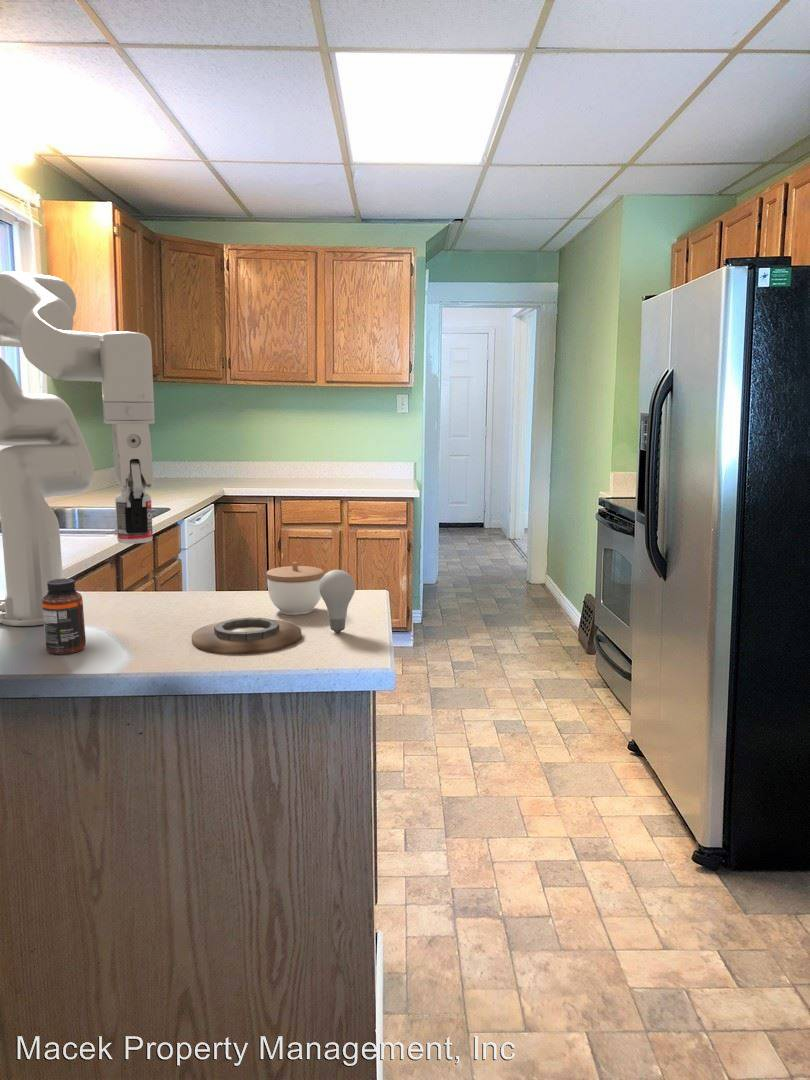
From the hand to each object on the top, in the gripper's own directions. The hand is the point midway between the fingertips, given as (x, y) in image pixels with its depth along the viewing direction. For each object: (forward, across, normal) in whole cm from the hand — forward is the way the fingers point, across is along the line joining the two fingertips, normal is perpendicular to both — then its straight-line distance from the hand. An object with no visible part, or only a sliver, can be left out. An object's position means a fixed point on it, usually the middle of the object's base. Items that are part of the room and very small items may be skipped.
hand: (134, 528), depth 131 cm
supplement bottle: (+20, +3, +11) cm, 23 cm away
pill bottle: (+2, 0, 0) cm, 2 cm away
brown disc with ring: (+19, -2, -17) cm, 26 cm away
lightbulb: (+19, -5, -32) cm, 38 cm away
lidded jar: (+19, +13, -30) cm, 38 cm away
